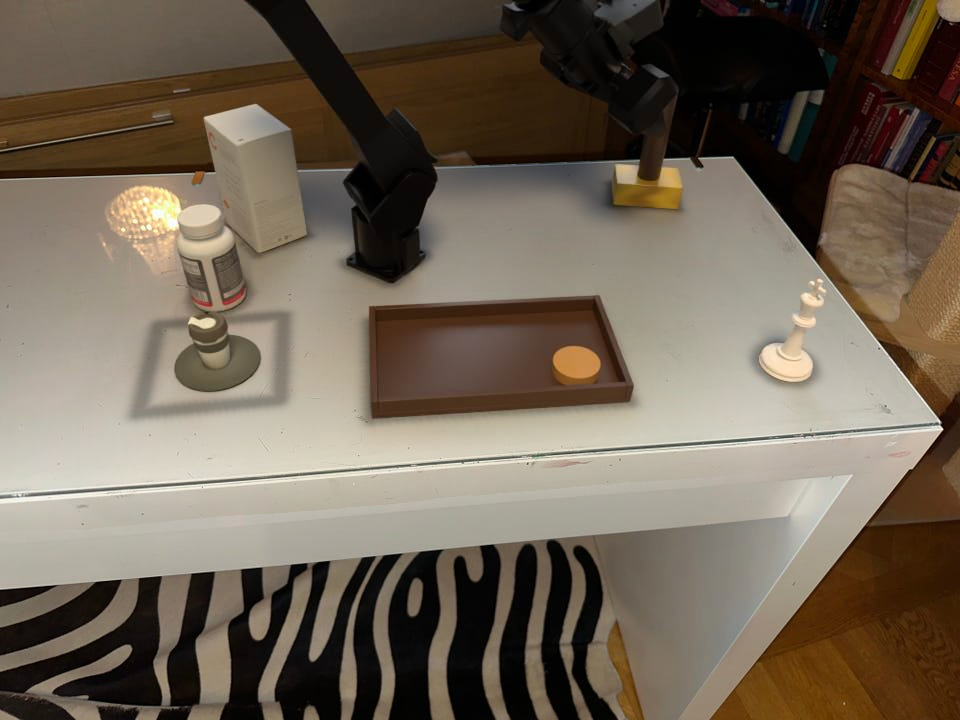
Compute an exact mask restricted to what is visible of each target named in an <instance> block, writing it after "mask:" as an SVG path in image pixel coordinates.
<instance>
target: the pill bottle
mask: <svg viewBox="0 0 960 720" xmlns="http://www.w3.org/2000/svg"><path fill="white" fill-rule="evenodd" d="M176 218H177V223H178V228H179V231H180V234H179V235H178V237H177V240H176V249H177V250H176V251H177V253H178V256H179V259H180V263H181V267H182V269H183V274H184V276H185V280H186V284H187V287H188V291H189V293H190V297H191V300H192V303H193V304H194V306H195V307H197V308H198V309H200V310H202V311H204V312H206V311H214V312H218V313H219V312H223V311H227V310H230V309H232V308H235V307H236V306H238V305H240V304H241V303H242V302H243V300H244V299H245V297H246V294H247V288H246V283H245V279H244V275H243V270H242V269H243V268H242V265H241V261H240V257H239V251H238V248H237V243H236V238H235V236H234V233H233V232H232V230H231V229H230V228H229V227H227V226H226V225H224V224H225V223H224V222H225V221H224V219H223V215H222V212H221V210H220V209H219V208H218V207H217V206H215V205H212V204H205V203H203V204H195V205H191V206H187V207H186V208H184V209H182V210H181V211H180V212H179V213H178V214H177V217H176Z"/></svg>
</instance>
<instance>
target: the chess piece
mask: <svg viewBox="0 0 960 720" xmlns="http://www.w3.org/2000/svg"><path fill="white" fill-rule="evenodd" d="M824 282H825V281H824V280H823V279H821V278H818V279H816V280H815V281H814V280H811V281H808V283H807V286H806V287H808V288H809V289H811V291H805V292H802V293H801V295H800V297H799V305H800V308H799V309H800V310H798V311H795V312H794V313H793V314H792V315H791V321H792V323H794V326H793V328H792V330H791V332H790V334H789V335H788V337H787V338H786V340H785V342H772V343H770V344H767V345H766V346H764V348H763V349H762V351H761V352H760V354H759V356H758V362H759V365H760V367H761V368H762V369H763V371H765V372H766V373H767V374H768V375H770V376H771V377H773V378H775V379H777V380H780V381H784V382H789V383H798V382H803V381H806V380H807V379H809V377H811V375H812V372H813V368H814V362H813V359H812V358H811V356H810V355H809V354H808V353H807V352H806V351H805V350H804V349H802V346H803V342H804V338H805V335H806V331H807V329H810V328H813V327H815V326H816V325H817V319H816V317H815V316H814V315H815V314H816V313H817V312H818V310H819V309H821V308H822V307H823V306H824V304H825V300H824V297H825V296H826V294H827V292H828V291H827V290H826V289H825V288H823V285H824Z"/></svg>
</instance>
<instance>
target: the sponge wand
mask: <svg viewBox="0 0 960 720" xmlns="http://www.w3.org/2000/svg"><path fill="white" fill-rule="evenodd" d="M679 91H680V90H679V89H678V92H679ZM678 95H679V93H678V94H677V95H676V96H675V97H674V98H673V99H672V100H671V102H670V103H669V104H668V105H667V106H666V107H665V108H664V109H663V114H664V119H665V124H666V129H667V131H666V133H665V134H664V135H663V136H662V137H661V138H657V137H653V136H649V135H645V134H643V135H644V137H643V141H642V146H641V151H640V157H639V162H638V165H636V164H621V163H619V164H618V163H614V168H613V174H612V179H611V194H612V203H613V205H614V206H624V207H625V206H626V207H638V208H639V207H641V208H653V209H666V210H667V209H669V210H679V207H680V202H681V198H682V194H683V191H684V187H683V182H682V178H681V174H680V170H679V169H680V168H678V167H667V166H666V167H665V166H663V163H664V159H665V156H666V155H665V154H666V151H667V145H668V142H669V141H668V140H669V136H670V131H671V128H672V123H673V118H674V113H675V108H676V104H677V100H678Z"/></svg>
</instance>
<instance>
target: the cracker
mask: <svg viewBox="0 0 960 720" xmlns="http://www.w3.org/2000/svg"><path fill="white" fill-rule="evenodd" d="M600 366H601V363H600V359H599V358H598V356H597V355H596V354H595V353H594V352H592V351H591V350H589V349H587V348H584V347H579V346H568V347H564V348H562V349H560V350H558V351H557V352H556V353H555V355H554V357H553V362H552V373H553V375H554V377H555V378H556V379H557V380H558V381H559V382H561V383H562V384H564V385H580V384H593V383H594V382H595V381H596V380H597V379H598V376H599V372H600Z"/></svg>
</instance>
